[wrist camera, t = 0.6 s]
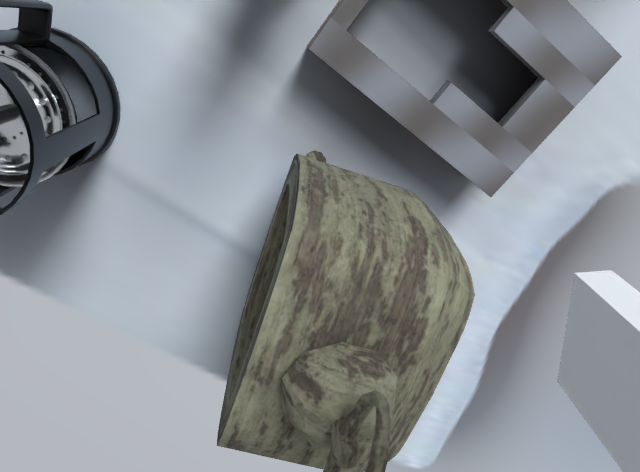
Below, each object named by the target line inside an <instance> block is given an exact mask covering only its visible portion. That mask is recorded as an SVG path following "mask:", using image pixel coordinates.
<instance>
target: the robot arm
mask: <svg viewBox="0 0 640 472" xmlns="http://www.w3.org/2000/svg"><path fill="white" fill-rule="evenodd" d="M558 383H559V384H560V386H561V387H562V388H563V390H564V391H565V393H566V394H567V395H568V397H569V398H570V399H571V401H572V402H573V403H574V405H575V406H576V408H577V409H578V410H579V412H580V413H581V414H582V416H583V417H584V419H585V420H586V421H587V423H588V424H589V426H590V427H591V428H592V430H593V431H594V432H595V434H596V435H597V436H598V438H599V439H600V440H601V442H602V443H603V445H604V446H605V448H606V449H607V450H608V452H609V453H610V454H611V456H612V457H613V459H614V460H615V461H616V463H617V464H618V466H619V467H620V468H621V470H622V471H623V472H640V292H638V291H637V290H636V289H635V288H633V287H632V286H631V285H629V284H628V283H627V282H625V281H624V280H623V279H622V278H621V277H619V276H618V275H617V274H616V273H614V272H613V271H596V272H582V273H575V274H574V280H573V287H572V293H571V299H570V306H569V312H568V319H567V324H566V331H565V337H564V343H563V350H562V356H561V362H560V369H559V375H558Z"/></svg>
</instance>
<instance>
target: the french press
mask: <svg viewBox="0 0 640 472" xmlns="http://www.w3.org/2000/svg"><path fill="white" fill-rule="evenodd" d="M0 7H12V8H19V21H18V27H17V28H13V29H10V30H0V197H1V196H2V195H4V194H6V193H7V192H9V191H11V190H13V189H14V188H16V187H22V188H21V190H20V192H19V193H18V194H17V196H16V197H15V198H14V199H13V200H12V202H11V203H10V204H8V205H7V206H5V207H2V208H0V215H2V214H3V213H5V212H6V211H8V210H9V209H11V208H13V207H14V206H15V205H17V204H18V203H19V202H21V201H22V200H24V199H25V198H26V197H27V196H28V195H29V194H30V193H31V191H32V190H33V189H34V188H35V186H36V185H37V183H40V182H42V181H44V180H47V179H49V178H50V177H51V176H53V175H58V174H62V173H64V172H66V171H69V170H71V169H73V168H75V167H76V166H80V165H83V164H85V163H87V162H90V161H92V160H93V159H95V158H96V157H97V156H99V155H100V154H101V153H103V152H104V151H105V149H106V148H107V147H108V146H109V145H110V144H111V142H112V140H113V138H114V136H115V134H116V132H117V128H118V124H119V120H120V102H119V95H118V91H117V88H116V85H115V82H114V79H113V77H112V76H111V74H110V72H109V70H108V68H107V67H106V65H105V64H104V63H103V61H102V60H101V59H100V58H99V56H98V55H97V54H96V53H95V52H94V51H93V50H92V49H90V48H89V47H88V46H87V45H86V44H85V43H84V42H82V41H80V40H79V39H77V38H76V37H74V36H72V35H71V34H68V33H66V32H63V31H61V30H58V29H55V28H51V22H52V11H53V7H52V5H50V4H48V3H46V2H42V1H39V0H0ZM29 47H43V48H48V49H52V50H54V51H57V52H59V53H62V54H63V55H65V56H67V57H68V58H69V59H70V60H72V61H73V63H74V64H75V65H76V66H77V67H78V69H79V70H80V71H81V72H82V74H83V75H84V77H85V79H86V81H87V82H88V84H89V86H90V88H91V91H92V94H93V96H94V99H95V104H96V110H97V114H95V115H93V116H91V117H89V118H87V119H84V120H82V121H80V122H78V123H77V117H76V112H75V108H74V105H73V103H72V100H71V98H70V95H69V93H68V91H67V90H66V88H65V86H64V85H63V83H62V81H61V80H60V78H59V77H58V76H57V75H56V74H55V73H54V71H53V70H52V69H51V68H50V67H49V66H48V65H47V64H46V63H45V62H44V61H42V60H41V59H40V58H39V57H38V56H36V55H35V54H33V53H32V52H30V51H29V50H27V49H25V48H29Z"/></svg>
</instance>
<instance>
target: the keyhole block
mask: <svg viewBox="0 0 640 472" xmlns="http://www.w3.org/2000/svg"><path fill="white" fill-rule="evenodd" d="M500 1H501V2H502V3H503V4H504V5H505V6H506V7H507V8H506V10H505V11H504V12H503V13H502V15H501V16H500V17H499V18H498V19H497V21H496V22H495V23H494V24H493V25H492V27H491V28H490V29H489V30H488V31H489V32H490V33H491V34H492V35H493V36H494V37H495V38H496V39H497V40H498V41H499V42H501V43H502V44H503V45H504V46H505V47H506V48H507V49H508V50H509V51H510V52H511V53H512V54H513V55H514V56H515V57H517V58H518V59H519V60H520V61H521V62H522V63H523V64H524V65H525V66H526V67H527V68H528V69H529V70H530V71H531V72H533V73H534V74H535V75H536V76H537V77H538V78H537V79H536V80H535V82H534V83H533V84H532V85H531V86H530V87H529V88H528V90H527V91H526V92H525V93H524V94H523V95H522V96H521V97H520V99H519V100H518V101H517V102H516V103H515V104H514V105H513V106H512V108H511V109H510V110H509V111H508V112H507V113H506V114H505V115H504V117H503V118H502V119H501V120H500V121H499V122H498V123H497V122H496V121H495V120H494V119H493V118H491V117H490V116H489V115H488V114H487V113H486V112H485V111H483V110H482V109H481V108H480V107H479V106H478V105H477V104H475V103H474V102H473V101H472V100H471V99H470V98H469V97H467V96H466V95H465V94H464V93H463V92H462V91H461V90H459V89H458V88H457V87H456V86H455V85H454V84H453V83H451V82H449V81H446V82H445V84H444V85H443V86H442V87H441V89H440V90H439V91H438V92H437V93H436V95H435V96H434V97H433V98H432V99H431V101H429V100H428V99H427V98H425V97H424V96H423V95H422V94H421V93H420V92H418V91H417V90H416V89H415V88H414V87H412V86H411V85H410V84H409V83H408V82H407V81H405V80H404V79H403V78H402V77H401V76H399V75H398V74H397V73H396V72H395V71H394V70H392V69H391V68H390V67H389V66H388V65H386V64H385V63H384V62H383V61H382V60H381V59H379V58H378V57H377V56H376V55H375V54H374V53H372V52H371V51H370V50H369V49H368V48H366V47H365V46H364V45H363V44H362V43H361V42H359V41H358V40H357V39H356V38H355V37H353V36H352V35H351V34H350V33H349V32H348V31H346V30H347V29H348V28H349V26H350V25H351V23H352V22H353V21H354V19H355V18H356V17H357V15H358V14H359V12H360V11H361V10H362V8H363V7H364V6H365V4H366V3H367V2H368V0H339V2H338V3H337V5H336V6H335V7H334V9H333V10H332V12H331V13H330V15H329V16H328V17H327V19H326V20H325V22H324V23H323V24H322V26H321V27H320V29H319V30H318V31H317V33H316V34H315V36H314V37H313V38H312V40H311V41H310V43H309V44H308V45H307V46H308V48H309V50H311V51H312V52H313V53H314V54H316V55H317V56H318V57H319V58H320V59H322V60H323V61H324V62H325V63H327V64H328V65H329V66H330V67H331V68H333V69H334V70H335V71H336V72H338V73H339V74H340V75H341V76H343V77H344V78H345V79H346V80H347V81H349V82H350V83H351V84H352V85H354V86H355V87H356V88H357V89H359V90H360V91H361V92H362V93H363V94H365V95H366V96H367V97H368V98H370V99H371V100H372V101H373V102H374V103H376V104H377V105H378V106H379V107H381V108H382V109H383V110H384V111H386V112H387V113H388V114H389V115H390V116H392V117H393V118H394V119H395V120H397V121H398V122H399V123H400V124H401V125H403V126H404V127H405V128H406V129H408V130H409V131H410V132H411V133H413V134H414V135H415V136H416V137H417V138H419V139H420V140H421V141H422V142H424V143H425V144H426V145H427V146H429V147H430V148H431V149H432V150H433V151H435V152H436V153H437V154H438V155H440V156H441V157H442V158H443V159H444V160H446V161H447V162H448V163H449V164H451V165H452V166H453V167H454V168H456V169H457V170H458V171H459V172H460V173H462V174H463V175H464V176H465V177H467V178H468V179H469V180H470V181H471V182H473V183H474V184H475V185H476V186H478V187H479V188H480V189H481V190H483V191H484V192H485V193H486V194H487V195H489V196H490V197H492V196H493V195H494V193H495V192H496V191H497V190H498V189H499V188H500V187H501V186H502V185H503V184H504V183H505V182H506V181H507V179H508V178H509V177H510V176H511V175H512V174H513V173H514V172H515V171H516V170H517V169H518V168H519V167H520V166H521V164H522V163H523V162H524V161H525V160H526V159H527V158H528V157H529V156H530V155H531V154H532V153H533V152H534V150H535V149H536V148H537V147H538V146H539V145H540V144H541V143H542V142H543V141H544V140H545V139H546V138H547V136H548V135H549V134H550V133H551V132H552V131H553V130H554V129H555V128H556V127H557V126H558V125H559V124H560V122H561V121H562V120H563V119H564V118H565V117H566V116H567V115H568V114H569V113H570V112H571V111H572V110H573V108H574V107H575V106H576V105H577V104H578V103H579V102H580V101H581V100H582V99H583V98H584V97H585V96H586V94H587V93H588V92H589V91H590V90H591V89H592V88H593V87H594V86H595V85H596V84H597V83H598V82H599V80H600V79H601V78H602V77H603V76H604V75H605V74H606V73H607V72H608V71H609V70H610V69H611V68H612V66H613V65H614V64H615V63H616V62H617V61H618V60H619V59H620V58H621V57H622V56H621V55H620V54H619V53H618V52H617V51H616V50H615V49H614V48H613V47H612V46H611V45H610V44H609V43H608V42H607V41H606V40H605V39H604V38H603V37H602V36H601V35H600V34H599V33H598V32H597V31H596V30H595V29H594V28H593V27H592V26H591V25H590V24H589V23H588V22H587V20H586V19H585V18H584V17H583V16H582V15H581V14H580V13H579V12H578V11H577V10H576V9H575V8H574V7H573V6H572V5H571V4H570V3H569V2H568V1H567V0H500Z"/></svg>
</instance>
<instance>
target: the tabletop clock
mask: <svg viewBox="0 0 640 472" xmlns="http://www.w3.org/2000/svg"><path fill="white" fill-rule="evenodd" d="M474 296H475V294H474V288H473V283H472V277H471V274H470V271H469V269H468V266H467V264H466V261H465V259H464V258H463V256H462V254H461V253H460V251H459V249H458V248H457V246H456V244H455V242H454V241H453V239H452V237H451V236H450V234H449V233H448V231H447V230H446V229H445V228H444V226H443V225H442V224H441V223H440V222H439V220H438V219H437V218H436V217H435V215H434V214H433V213H432V212H431V210H430V209H429V208H428V207H427V206H426V205H425V204H424V203H423V202H422V201H421V200H420V199H419V198H418V197H417V196H416V195H415V194H414V193H413V192H411V191H409V190H406V189H403V188H400V187H397V186H394V185H391V184H388V183H385V182H382V181H378V180H375V179H372V178H369V177H366V176H363V175H360V174H357V173H354V172H351V171H348V170H345V169H342V168H339V167H336V166H333V165H330V164H327V163H326V159H325V157H324V156H323V154H322V153H320V152H316V151H312V152H310V153H308V154H307V155H306V157H305V156H302V155H299V154H296V155H295V156H294V158H293V161H292V164H291V167H290V169H289V172H288V175H287V178H286V181H285V184H284V186H283V189H282V192H281V195H280V198H279V201H278V204H277V207H276V210H275V213H274V216H273V219H272V222H271V225H270V228H269V231H268V234H267V237H266V240H265V243H264V247H263V250H262V253H261V256H260V259H259V262H258V265H257V268H256V271H255V274H254V278H253V281H252V284H251V287H250V290H249V293H248V297H247V300H246V303H245V307H244V310H243V313H242V317H241V321H240V325H239V329H238V334H237V338H236V342H235V347H234V351H233V356H232V361H231V366H230V370H229V375H228V380H227V385H226V391H225V396H224V401H223V407H222V412H221V418H220V424H219V430H218V439H217V446H221V447H226V448H230V449H235V450H239V451H244V452H248V453H253V454H257V455H261V456H266V457H270V458H275V459H279V460H284V461H288V462H293V463H297V464H302V465H306V466H311V467H316V468H320V469H324V471H323V472H364V471H365V472H385V469H386V464H387V462H388V461H390V460H391V459H392V458H393V457H395V456H396V455H397V453H398V452H399V451H400V450H401V448H402V447H403V445H404V444H405V442H406V440H407V439H408V437H409V435H410V433H411V432H412V430H413V428H414V426H415V425H416V423H417V421H418V419H419V418H420V416H421V414H422V412H423V411H424V409H425V407H426V405H427V404H428V402H429V400H430V398H431V397H432V395H433V393H434V391H435V389H436V387H437V385H438V383H439V380H440V378H441V376H442V374H443V372H444V370H445V368H446V366H447V364H448V362H449V360H450V358H451V356H452V354H453V352H454V350H455V348H456V346H457V344H458V342H459V340H460V337H461V335H462V333H463V331H464V328H465V326H466V323H467V320H468V317H469V314H470V311H471V307H472V303H473V300H474Z"/></svg>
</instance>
